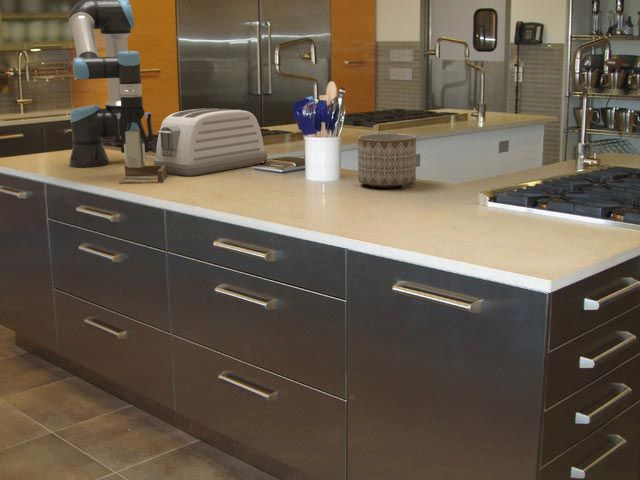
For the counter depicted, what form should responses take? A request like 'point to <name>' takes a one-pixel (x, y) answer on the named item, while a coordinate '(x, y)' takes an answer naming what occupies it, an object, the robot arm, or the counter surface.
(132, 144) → the box
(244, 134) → the toaster
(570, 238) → the counter surface
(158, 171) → the arena
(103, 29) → the robot arm
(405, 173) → the planter
